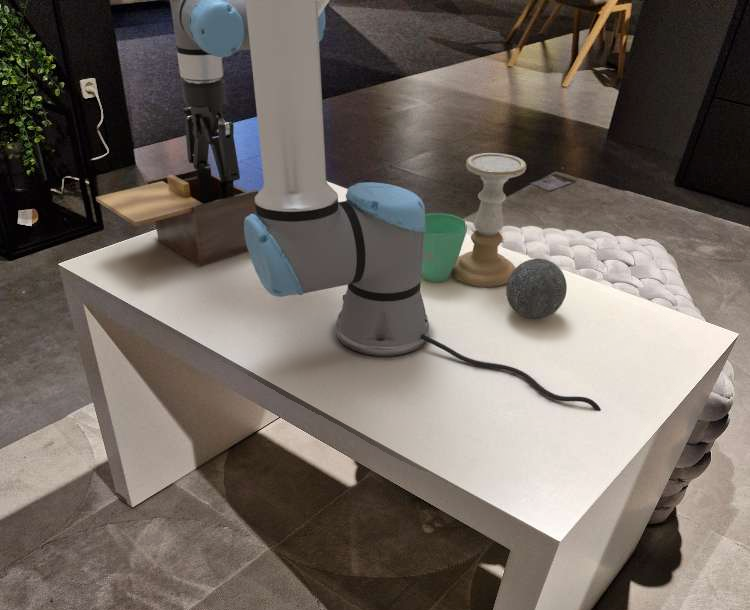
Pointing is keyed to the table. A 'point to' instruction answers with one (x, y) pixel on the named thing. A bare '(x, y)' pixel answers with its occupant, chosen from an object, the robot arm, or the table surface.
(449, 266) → the mug
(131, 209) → the sliding lid
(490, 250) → the candle holder
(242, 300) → the table surface
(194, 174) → the walnut box
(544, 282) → the decorative ball
